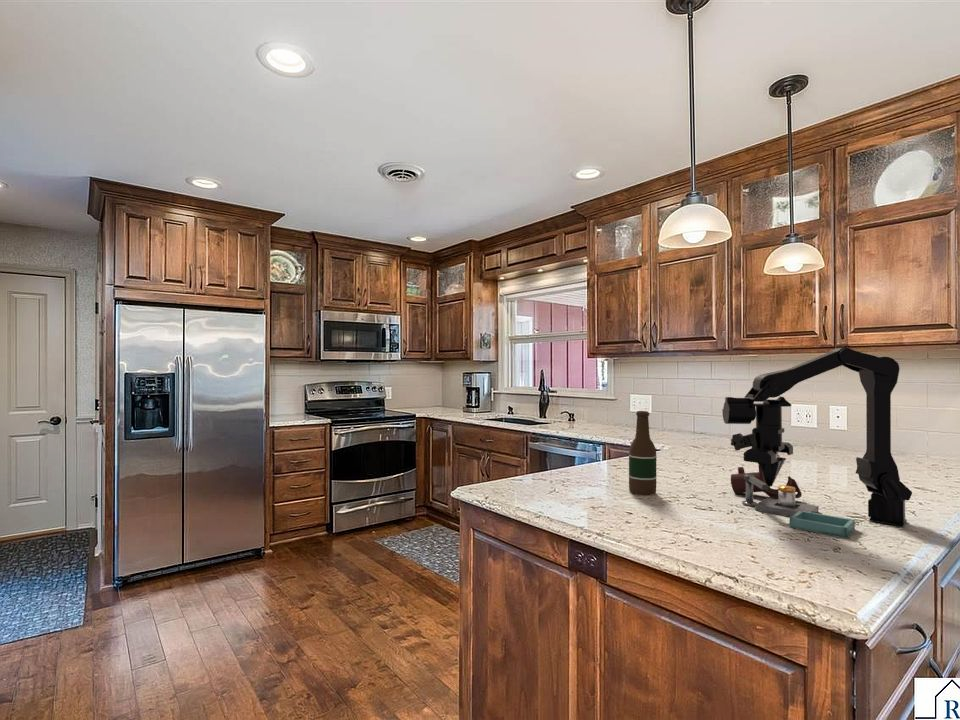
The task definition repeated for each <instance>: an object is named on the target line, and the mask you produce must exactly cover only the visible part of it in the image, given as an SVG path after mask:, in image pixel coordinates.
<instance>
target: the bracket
mask: <svg viewBox="0 0 960 720" xmlns="http://www.w3.org/2000/svg"><path fill="white" fill-rule="evenodd" d="M757 464H758V463H757ZM737 472H738V473H734V474H732V473H731V475H730V484H731V485H730V486H731V488H732V492H733V493H734V494H746V480H744V475H754V476H755V478H757V479H759V480H760V481H762V482H764V483H766V481H765V478H764V475H763V472H762V469H761V466H760V465H759V464H758V471H757V472H747V473H746V472H745V468H744V466H738V467H737ZM785 486H792V487H795V499H799V498H801V497H802V495H803V494H802V491H801V489H800V487H799V484H798V483H797V482H796V480H795V479H794V478H792V477H791V476H790V475H789V476H787V482H786V484H785ZM753 493H764V494H765V495H767V496H768V498H771V499H778V488H777V489H775V488H771V487H770V486H768V490H762V489H760V488H759V487H757V486H756V485H754V484H753Z"/></svg>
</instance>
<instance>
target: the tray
mask: <svg viewBox="0 0 960 720" xmlns="http://www.w3.org/2000/svg"><path fill="white" fill-rule="evenodd" d="M855 523H856V522H855V519H853V518H852V519H851V518H845V517H839V516H834V515H828V514H823V513H811V512H805V511H799V512H797V513H796V514H794V515H793V516H792V517H791V516H789V528H790V527H792V528H791V529H795V528H796V529H797V530H802V531H805V532H812V533H816V534H817V533H818V534H823V535H828V536H832V537H837V536H838V538H842V537H843V539H847V538H849V536H850V535H851V534H852V533H853V532H854V531H855V526H856V525H855ZM796 529H795V530H796Z"/></svg>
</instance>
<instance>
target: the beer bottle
mask: <svg viewBox="0 0 960 720" xmlns="http://www.w3.org/2000/svg"><path fill="white" fill-rule="evenodd" d="M635 415H636V428H635V435H634V436H635V437H634V438H633V441H631V444H630V446H629V448H628V449H629V450H628V489H629V490H628V491H629V492H630V493H631V494H633V495H638V496H653V495H655V494H656V493H657V449H656V447H655V444H654V442H653V440H651V434H650V423H649V422H650V421H649V416H650V413H649V411H646V410H638V411H636V413H635Z"/></svg>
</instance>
